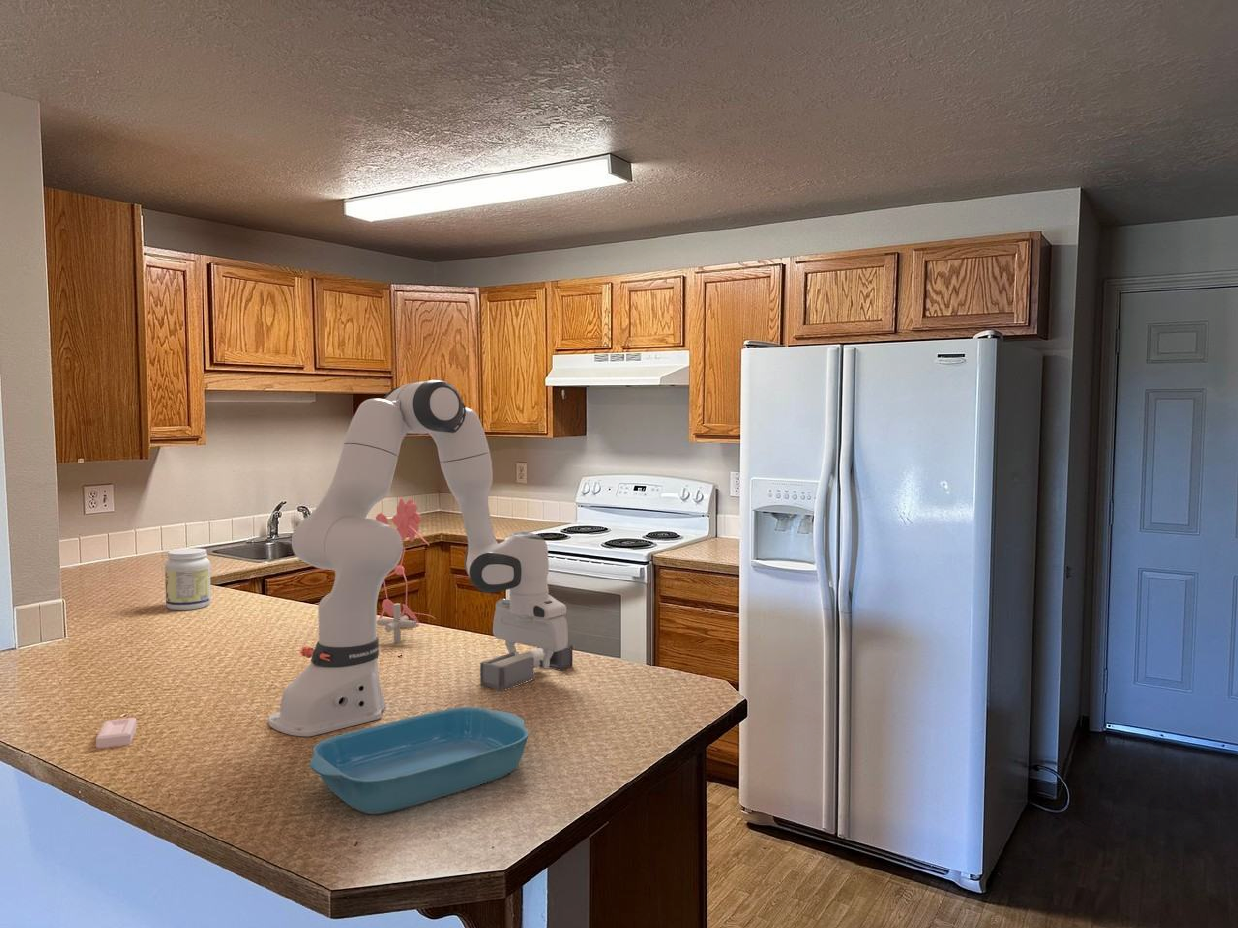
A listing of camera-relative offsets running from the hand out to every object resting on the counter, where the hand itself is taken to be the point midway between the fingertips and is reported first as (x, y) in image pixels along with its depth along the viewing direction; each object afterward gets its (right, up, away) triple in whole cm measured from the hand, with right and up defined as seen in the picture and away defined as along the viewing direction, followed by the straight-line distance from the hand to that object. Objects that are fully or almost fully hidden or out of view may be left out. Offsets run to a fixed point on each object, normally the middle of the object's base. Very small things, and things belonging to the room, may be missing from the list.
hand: (529, 663), depth 199 cm
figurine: (-39, +1, +49) cm, 63 cm away
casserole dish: (-12, -7, -55) cm, 57 cm away
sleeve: (-4, -3, -6) cm, 8 cm away
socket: (+5, -2, +7) cm, 9 cm away
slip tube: (-2, -1, -3) cm, 4 cm away
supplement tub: (-109, +2, +64) cm, 127 cm away
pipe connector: (-37, -1, +26) cm, 45 cm away
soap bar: (-72, -5, -39) cm, 82 cm away
